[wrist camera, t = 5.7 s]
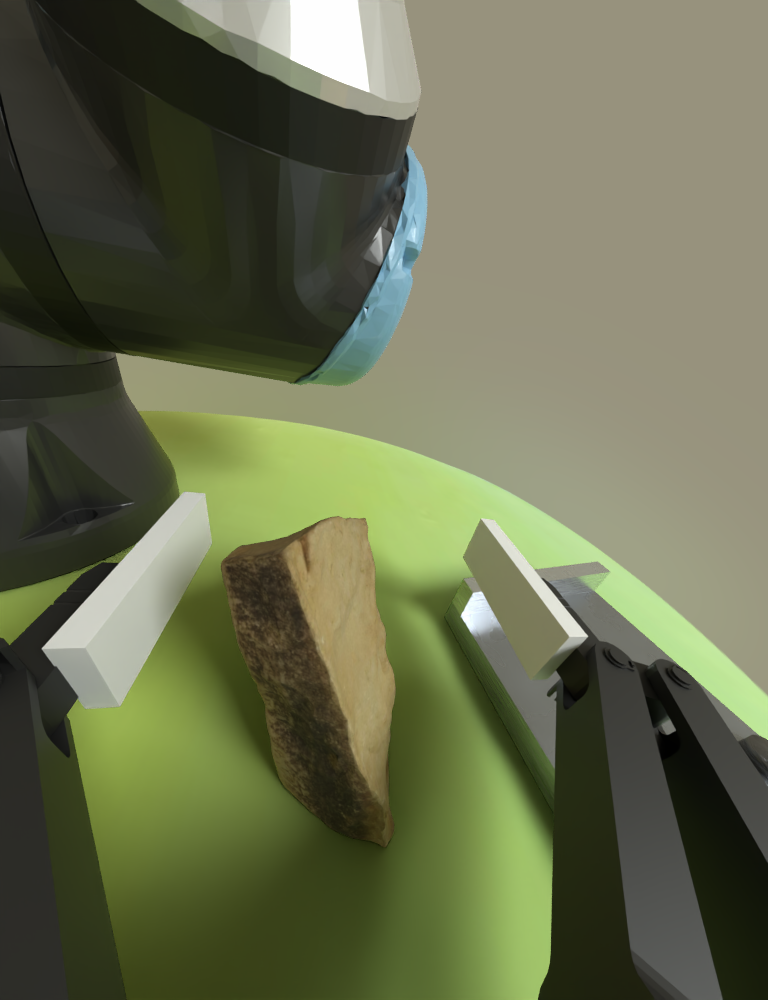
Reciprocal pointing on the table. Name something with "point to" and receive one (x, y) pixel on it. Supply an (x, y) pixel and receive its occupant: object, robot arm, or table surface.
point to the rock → (320, 669)
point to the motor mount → (527, 699)
